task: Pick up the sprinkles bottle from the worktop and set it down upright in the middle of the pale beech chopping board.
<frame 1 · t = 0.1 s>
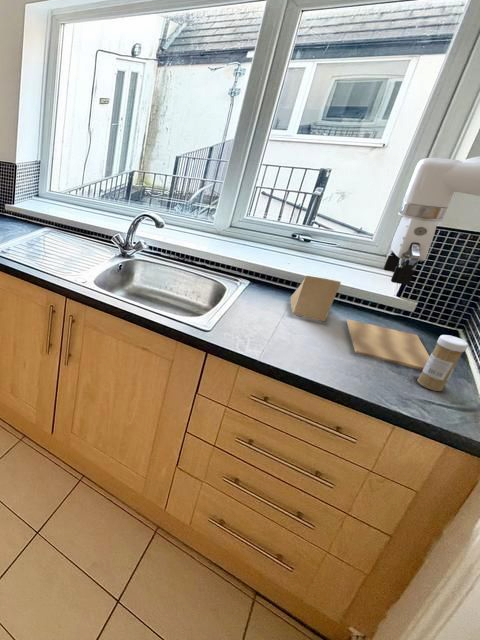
hand: (395, 276, 106), 24 cm above the countertop, tool pointing down, fingers open, 9 cm apart
sandwich container: (305, 311, 139), on the countertop
sprinkles bottle: (428, 386, 103), on the countertop
chopping board: (385, 347, 119), on the countertop
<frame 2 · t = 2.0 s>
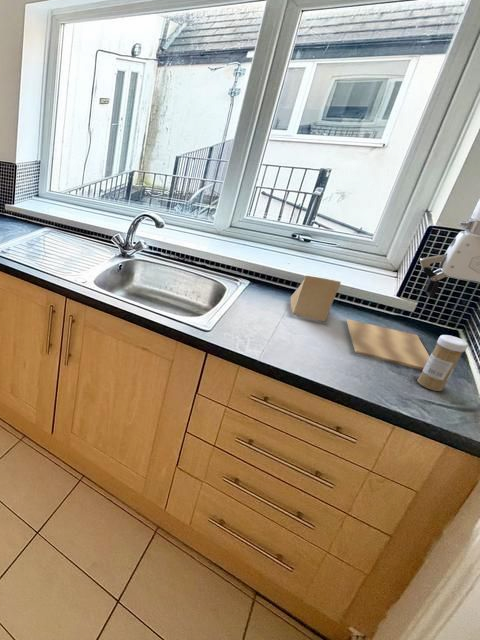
hand: (458, 301, 96), 22 cm above the countertop, tool pointing down, fingers open, 9 cm apart
nothing on the countertop moved.
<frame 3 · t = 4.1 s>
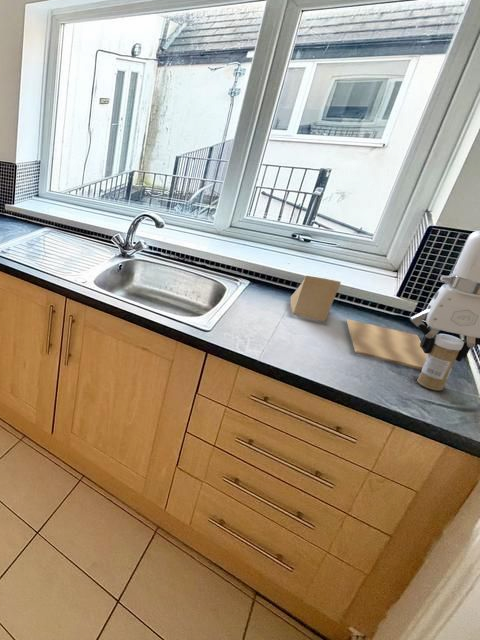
hand: (440, 353, 100), 9 cm above the countertop, tool pointing down, fingers closed on sprinkles bottle, 4 cm apart
sprinkles bottle: (428, 385, 103), on the countertop, touching gripper
everything else where it was.
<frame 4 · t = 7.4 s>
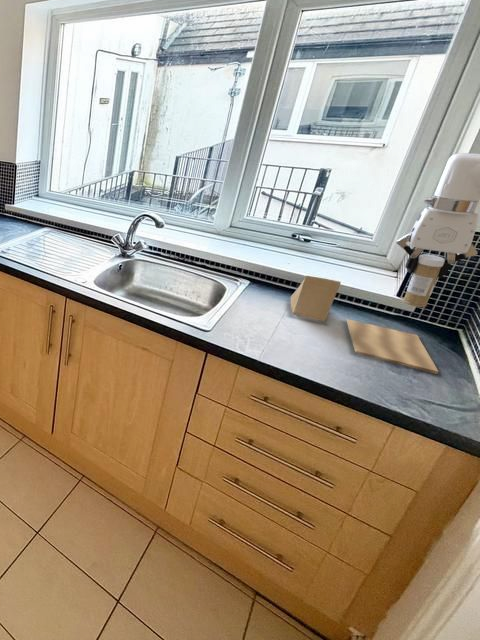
hand: (424, 273, 109), 24 cm above the countertop, tool pointing down, fingers closed on sprinkles bottle, 4 cm apart
sprinkles bottle: (413, 304, 111), point 15 cm above the countertop, touching gripper
everything else where it was.
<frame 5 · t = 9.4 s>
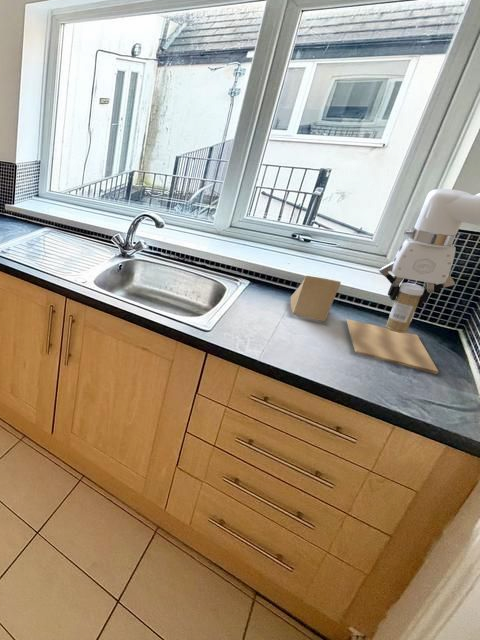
hand: (405, 300, 114), 15 cm above the countertop, tool pointing down, fingers closed on sprinkles bottle, 4 cm apart
sprinkles bottle: (395, 329, 117), point 6 cm above the countertop, touching gripper
everything else where it was.
when the fingers open (10 cm above the countertop, at t = 10.9 s): sprinkles bottle stays where it is, resting on chopping board.
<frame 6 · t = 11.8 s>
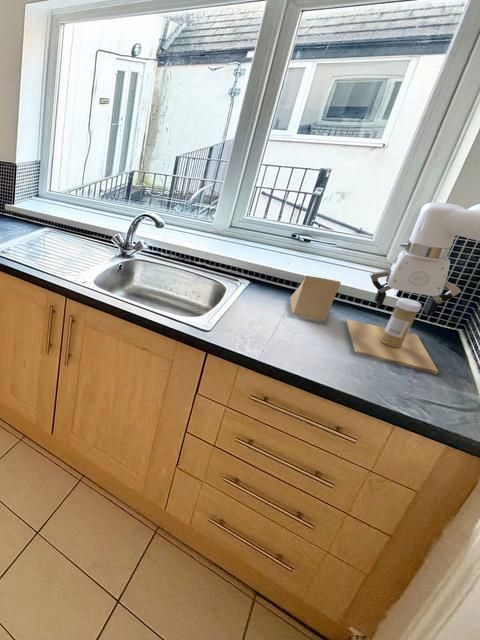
hand: (402, 309, 115), 12 cm above the countertop, tool pointing down, fingers open, 9 cm apart
sprinkles bottle: (390, 344, 118), point 1 cm above the countertop, touching chopping board
everything else where it was.
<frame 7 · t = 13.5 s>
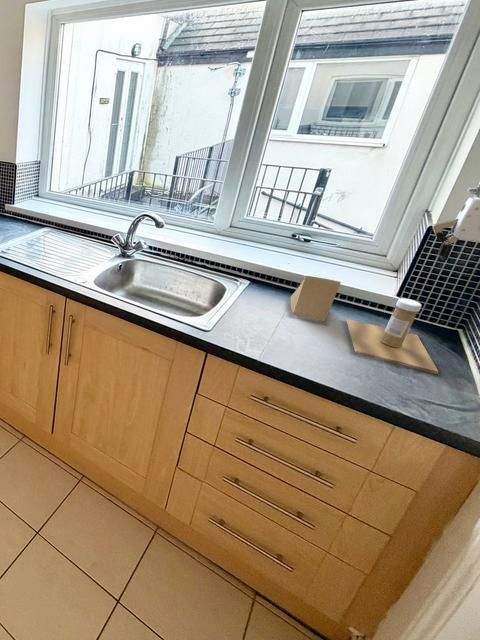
hand: (470, 262, 104), 28 cm above the countertop, tool pointing down, fingers open, 9 cm apart
nothing on the countertop moved.
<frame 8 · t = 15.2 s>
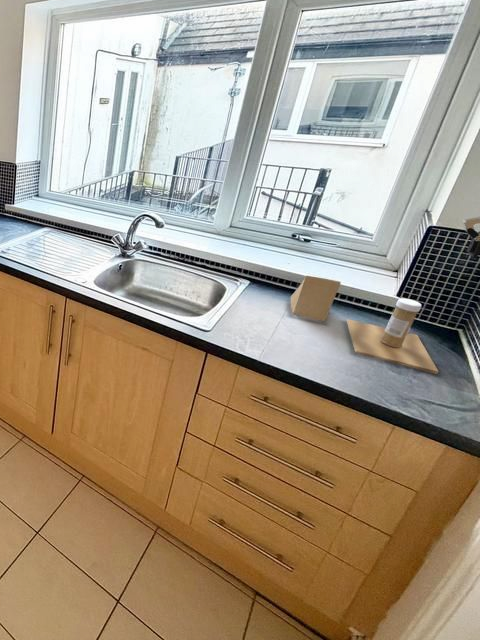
nothing on the countertop moved.
at the end: sprinkles bottle inside the target area (0.6 cm from its centre), point 1.4 cm above the countertop; sprinkles bottle tilted 3°; the gripper is holding nothing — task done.
